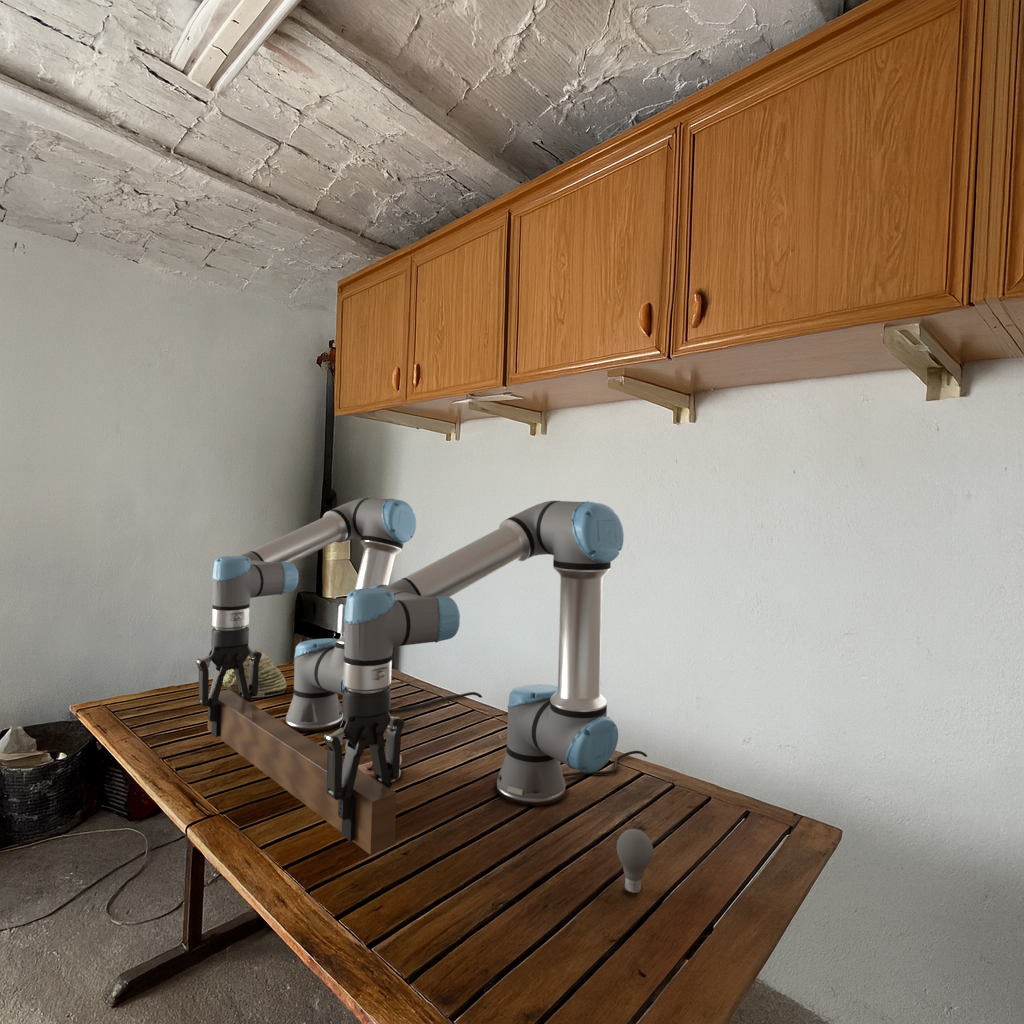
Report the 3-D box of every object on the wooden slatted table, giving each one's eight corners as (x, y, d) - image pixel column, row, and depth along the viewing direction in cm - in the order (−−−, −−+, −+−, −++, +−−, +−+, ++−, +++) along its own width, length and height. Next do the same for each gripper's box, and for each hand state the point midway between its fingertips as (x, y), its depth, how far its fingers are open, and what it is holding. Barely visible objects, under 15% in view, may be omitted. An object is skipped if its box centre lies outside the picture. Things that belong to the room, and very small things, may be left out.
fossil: (218, 695, 195) (220, 647, 195) (278, 685, 208) (279, 640, 207) (228, 703, 189) (230, 653, 188) (289, 692, 201) (290, 645, 201)
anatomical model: (331, 765, 140) (354, 745, 151) (331, 782, 140) (354, 762, 151) (388, 772, 137) (407, 752, 148) (387, 791, 137) (406, 769, 148)
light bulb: (610, 879, 108) (613, 822, 108) (644, 879, 109) (647, 822, 109) (619, 902, 102) (622, 840, 102) (655, 901, 103) (658, 840, 103)
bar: (207, 729, 142) (208, 693, 142) (227, 724, 145) (228, 689, 145) (370, 855, 96) (372, 801, 95) (394, 844, 99) (396, 792, 99)
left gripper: (193, 635, 130) (191, 747, 131) (276, 625, 143) (274, 727, 143) (181, 628, 136) (179, 736, 136) (262, 619, 148) (260, 718, 148)
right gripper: (328, 704, 92) (323, 862, 92) (425, 682, 104) (420, 822, 105) (304, 691, 97) (299, 841, 98) (399, 672, 110) (394, 805, 110)
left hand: (227, 731), depth 140 cm, fingers closed on bar, 4 cm apart
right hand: (362, 831), depth 101 cm, fingers closed on bar, 4 cm apart
